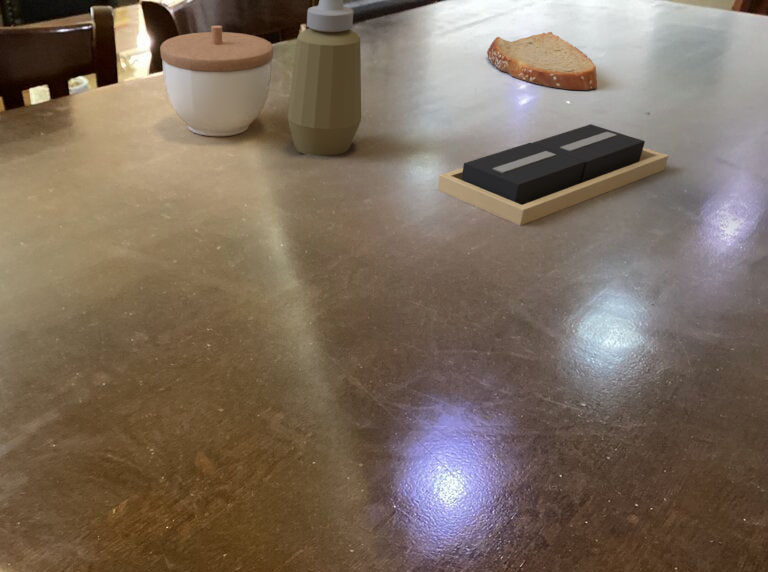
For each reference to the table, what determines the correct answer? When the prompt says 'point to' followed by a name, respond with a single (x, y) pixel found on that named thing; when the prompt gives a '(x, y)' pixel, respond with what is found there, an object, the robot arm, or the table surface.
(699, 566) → the table surface
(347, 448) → the table surface
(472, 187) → the tray
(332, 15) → the squeeze bottle
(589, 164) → the pad
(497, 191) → the pad
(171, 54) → the lidded bowl
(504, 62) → the slice of bread
